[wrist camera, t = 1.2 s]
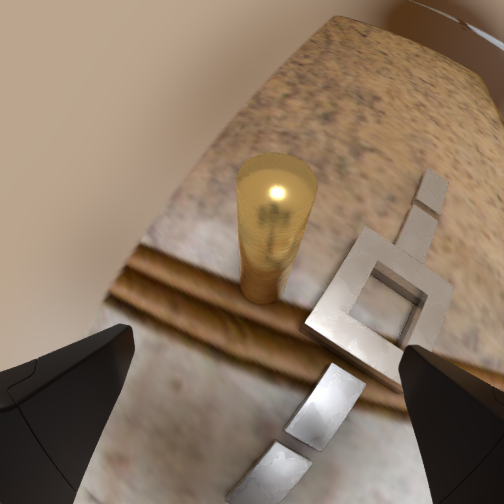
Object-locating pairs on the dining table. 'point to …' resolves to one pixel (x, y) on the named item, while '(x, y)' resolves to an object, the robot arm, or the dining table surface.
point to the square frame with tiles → (358, 339)
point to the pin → (271, 221)
